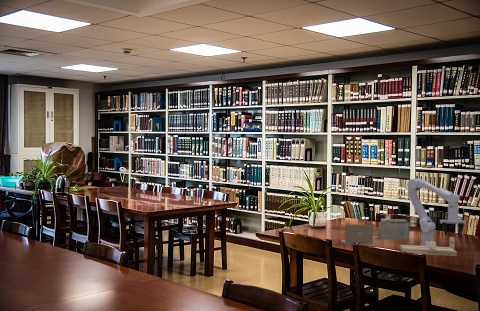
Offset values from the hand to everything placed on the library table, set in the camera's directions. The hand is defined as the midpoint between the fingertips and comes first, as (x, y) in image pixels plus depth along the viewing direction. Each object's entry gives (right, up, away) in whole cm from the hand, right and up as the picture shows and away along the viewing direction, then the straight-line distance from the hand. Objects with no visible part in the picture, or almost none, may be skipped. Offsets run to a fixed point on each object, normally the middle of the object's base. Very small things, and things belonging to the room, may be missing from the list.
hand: (452, 235), depth 314 cm
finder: (-15, -6, -4) cm, 17 cm away
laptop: (-55, -8, +19) cm, 59 cm away
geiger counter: (-28, -8, +33) cm, 44 cm away
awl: (0, -9, 0) cm, 9 cm away
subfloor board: (-18, -9, -7) cm, 21 cm away
